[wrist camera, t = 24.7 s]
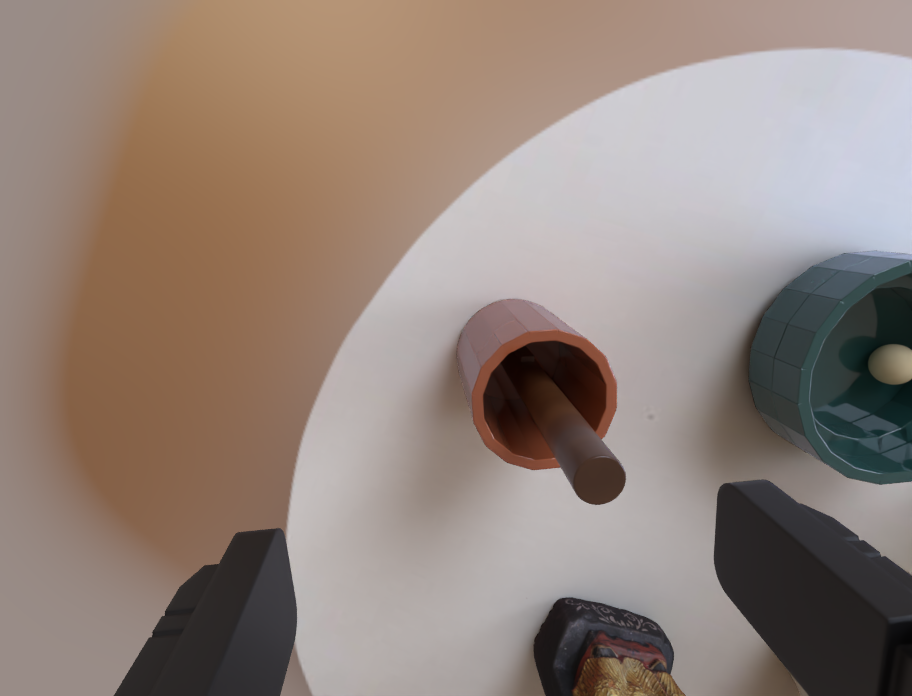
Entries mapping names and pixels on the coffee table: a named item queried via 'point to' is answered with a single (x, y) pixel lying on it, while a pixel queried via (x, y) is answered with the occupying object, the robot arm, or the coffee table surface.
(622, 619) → the statue
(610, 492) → the stick
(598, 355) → the crock
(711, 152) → the coffee table surface
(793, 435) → the bowl
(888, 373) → the dough ball
